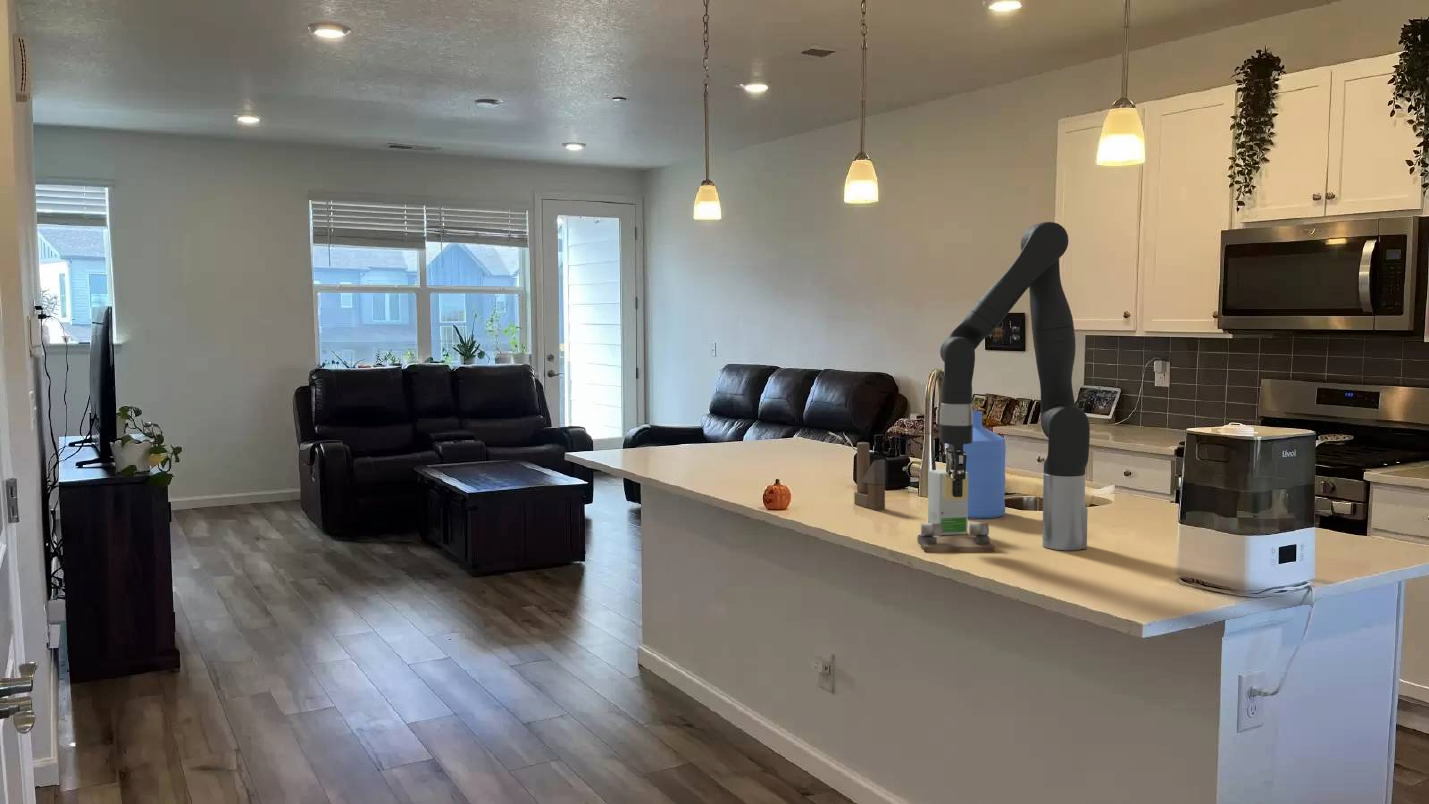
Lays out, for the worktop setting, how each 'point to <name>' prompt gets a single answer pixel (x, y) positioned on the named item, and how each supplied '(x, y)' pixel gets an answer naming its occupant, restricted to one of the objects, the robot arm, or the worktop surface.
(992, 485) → the water jug
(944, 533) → the skincare box
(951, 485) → the joint block
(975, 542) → the rig
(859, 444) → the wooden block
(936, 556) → the worktop surface
